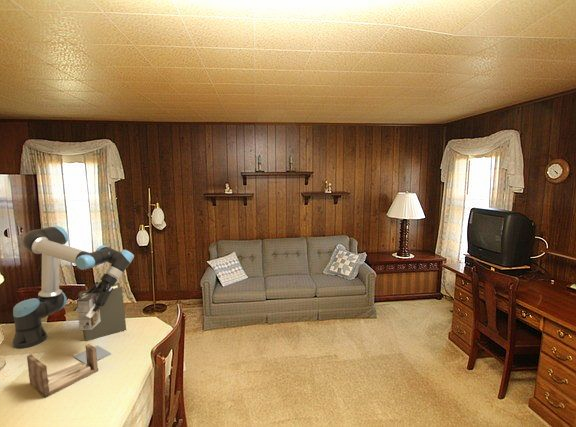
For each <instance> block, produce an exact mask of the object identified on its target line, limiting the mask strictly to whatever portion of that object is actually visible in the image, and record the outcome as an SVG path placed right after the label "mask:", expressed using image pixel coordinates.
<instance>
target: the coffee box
mask: <svg viewBox="0 0 576 427" xmlns="http://www.w3.org/2000/svg"><path fill="white" fill-rule="evenodd" d="M97 300H98V293H86V294H85V295H83V296H82V297H80V298H79V297H78V299H76V306H77V307H76V309H77V308H78V312H77V315H78V316H77V317H78V327H79V331H83V330H92V329H93V328H94V327H95V326H96V325H97V324H98V323H99V322H100V321H101V318H100V308H98V309H97V311H96V312H95V313H94V315H93V316H92V317H91V318H89V317H87V316H86V315H87V313H88V312H89V311H90V309H91V308H92V307H93V305H94V304H95V303H96V302H97Z"/></svg>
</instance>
